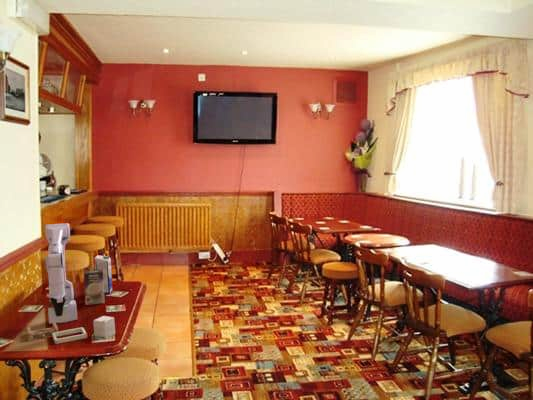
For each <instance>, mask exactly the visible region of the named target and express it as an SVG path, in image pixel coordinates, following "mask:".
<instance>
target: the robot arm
mask: <svg viewBox="0 0 533 400" xmlns="http://www.w3.org/2000/svg"><path fill="white" fill-rule="evenodd" d="M44 228H45V229H44V230H45V237H46V240H47V243H48V244H49V245H48V249H47V250H48V252H47V255H46V256H45V266H46V269H47V270H46V271H47V273H48V276H47V277H48V287H49V289H48V291H49V292H48V293H46V297H47V298H49V302H50V303H51V305H52V307H54V309H55V314H56V316H57V317H58V316H62V313H63V307H64V305H68V311H69V320H67V321H61V322H56V324H57V323H58V324H59V323H60V324H61V323H62V324H63V323H68V322H71V321H75V320H76V321H77V320H78V309H77V303H76V300H75V299H74V297H75V296H74V285H73V283H72V281H69V280H68V279H67V275H66V271H67V270H66V254H65V251H66V250H65V248H66V244H67V243H69V242H70V240H71V227H70V224H69V223H68V222H66V223H54V224H53V223H52V224H48V223H47V224H46V225H45V227H44Z"/></svg>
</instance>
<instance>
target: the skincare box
mask: <svg viewBox="0 0 533 400" xmlns="http://www.w3.org/2000/svg"><path fill="white" fill-rule="evenodd" d="M92 322H93V334H94V335H93V336H94V337H102V338H110V337H112V336H114V335H115V334H116V325H115V317H114V316H106V315H102V316H99V317H98V318H95V319H94V320H93V321H92Z"/></svg>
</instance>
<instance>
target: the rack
mask: <svg viewBox="0 0 533 400" xmlns="http://www.w3.org/2000/svg"><path fill="white" fill-rule="evenodd" d="M48 330H55V332H59V327H58V325H57V322H56V323H52V327H49V328H48V327H47V328H43V329H38V330H31V327H30V326H26V332H27V337H28V338H27V339H28V340H29V342H32V341H34V340H33V338H32V333H38V332H43V338H41V339H46V338H49V337H46V338H45V333H44V331H48ZM51 337H52V336H51ZM51 337H50V338H51ZM52 338H53V337H52ZM41 339H40V340H41ZM37 340H38V341H39V339H36V340H35V341H37Z"/></svg>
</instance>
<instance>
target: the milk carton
mask: <svg viewBox="0 0 533 400" xmlns="http://www.w3.org/2000/svg"><path fill="white" fill-rule="evenodd" d="M94 266H95V267H94V268H95V269H94V270H101V269H103V281H104V295H111V294H112V292H113V278H112V276H113V275H112V260H111V257H109V256H108V255H99V254H98V255H97V256H95V257H94ZM111 291H112V292H111Z"/></svg>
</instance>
